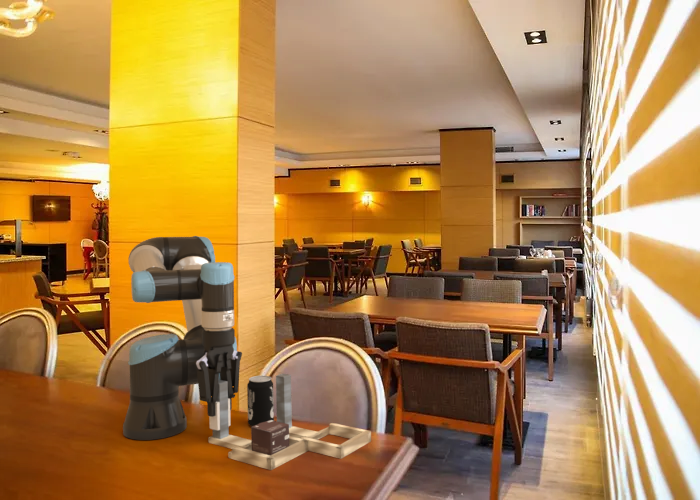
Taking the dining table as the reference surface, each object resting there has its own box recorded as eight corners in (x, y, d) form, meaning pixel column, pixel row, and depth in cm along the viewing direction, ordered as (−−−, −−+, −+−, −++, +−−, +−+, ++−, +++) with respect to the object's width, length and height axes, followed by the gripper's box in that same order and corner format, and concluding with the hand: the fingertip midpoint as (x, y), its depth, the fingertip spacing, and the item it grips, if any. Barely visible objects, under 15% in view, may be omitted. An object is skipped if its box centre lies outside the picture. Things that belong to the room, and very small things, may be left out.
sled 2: (261, 438, 138) (260, 379, 137) (294, 424, 148) (293, 369, 148) (341, 458, 125) (340, 393, 125) (371, 441, 135) (370, 381, 135)
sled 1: (194, 448, 132) (193, 386, 132) (233, 432, 143) (232, 375, 142) (271, 470, 119) (269, 402, 119) (307, 450, 130) (306, 388, 129)
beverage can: (268, 429, 144) (268, 382, 144) (244, 428, 145) (243, 381, 145) (277, 421, 151) (276, 375, 150) (253, 419, 152) (252, 374, 152)
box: (270, 466, 122) (270, 431, 121) (250, 460, 125) (250, 426, 125) (290, 457, 126) (289, 424, 126) (270, 451, 130) (270, 419, 130)
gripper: (203, 334, 127) (205, 440, 128) (253, 324, 140) (254, 420, 141) (180, 331, 131) (183, 433, 132) (231, 322, 144) (232, 415, 145)
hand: (220, 426), depth 136 cm, fingers closed on sled 1, 3 cm apart
